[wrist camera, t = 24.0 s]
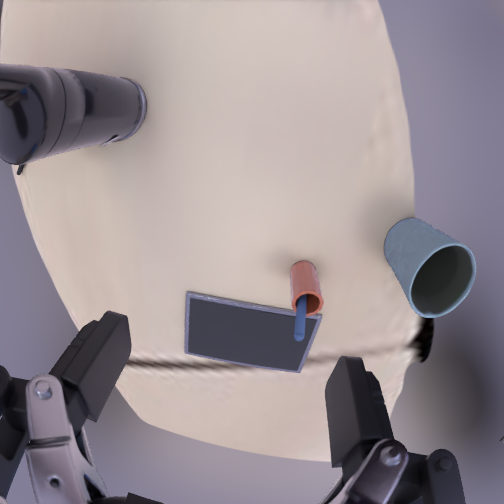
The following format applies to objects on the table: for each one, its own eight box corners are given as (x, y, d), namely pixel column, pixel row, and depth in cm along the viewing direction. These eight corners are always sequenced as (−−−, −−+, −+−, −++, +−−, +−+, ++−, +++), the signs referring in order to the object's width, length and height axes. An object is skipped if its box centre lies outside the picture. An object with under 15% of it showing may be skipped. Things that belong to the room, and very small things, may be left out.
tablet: (185, 350, 51) (184, 353, 51) (187, 290, 45) (185, 293, 45) (299, 370, 51) (299, 373, 51) (321, 314, 45) (322, 317, 45)
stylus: (298, 276, 42) (292, 342, 31) (301, 269, 41) (294, 335, 30) (306, 277, 42) (302, 344, 31) (309, 271, 41) (305, 337, 30)
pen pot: (287, 281, 43) (288, 313, 36) (293, 258, 41) (296, 288, 34) (312, 285, 43) (318, 318, 36) (319, 263, 41) (327, 293, 34)
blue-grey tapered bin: (376, 275, 41) (402, 323, 31) (380, 212, 37) (415, 247, 26) (431, 268, 40) (466, 311, 29) (439, 209, 36) (483, 240, 25)
